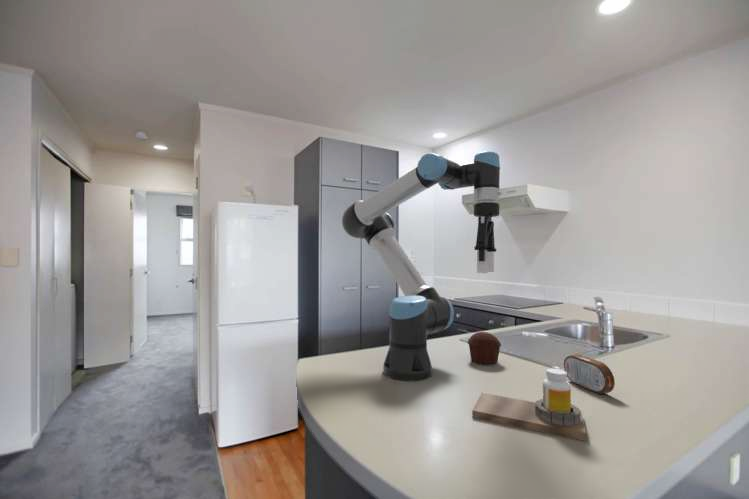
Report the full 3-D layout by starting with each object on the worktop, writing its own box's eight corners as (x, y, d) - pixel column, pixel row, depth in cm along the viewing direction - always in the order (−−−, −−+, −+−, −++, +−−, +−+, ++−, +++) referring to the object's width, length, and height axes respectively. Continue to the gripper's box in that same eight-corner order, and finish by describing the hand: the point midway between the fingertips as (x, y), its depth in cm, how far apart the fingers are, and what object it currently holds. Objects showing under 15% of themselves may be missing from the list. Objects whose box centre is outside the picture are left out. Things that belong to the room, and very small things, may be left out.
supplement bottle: (576, 420, 75) (576, 374, 75) (556, 423, 73) (556, 376, 74) (557, 409, 80) (557, 366, 80) (537, 412, 79) (537, 368, 79)
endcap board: (472, 417, 79) (472, 401, 79) (481, 398, 90) (481, 384, 90) (586, 441, 69) (586, 423, 69) (581, 417, 80) (581, 401, 80)
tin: (615, 397, 92) (615, 365, 92) (606, 398, 91) (606, 366, 92) (570, 378, 107) (570, 350, 107) (561, 379, 106) (561, 351, 106)
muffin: (462, 357, 128) (462, 329, 129) (491, 356, 130) (491, 329, 130) (475, 367, 117) (475, 336, 117) (507, 366, 118) (507, 336, 118)
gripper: (493, 195, 95) (492, 273, 95) (504, 208, 118) (503, 271, 117) (465, 197, 99) (464, 272, 98) (480, 209, 121) (480, 271, 120)
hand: (485, 272), depth 108 cm, fingers open, 13 cm apart
